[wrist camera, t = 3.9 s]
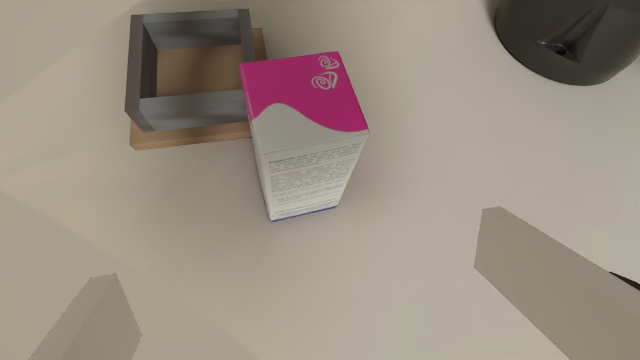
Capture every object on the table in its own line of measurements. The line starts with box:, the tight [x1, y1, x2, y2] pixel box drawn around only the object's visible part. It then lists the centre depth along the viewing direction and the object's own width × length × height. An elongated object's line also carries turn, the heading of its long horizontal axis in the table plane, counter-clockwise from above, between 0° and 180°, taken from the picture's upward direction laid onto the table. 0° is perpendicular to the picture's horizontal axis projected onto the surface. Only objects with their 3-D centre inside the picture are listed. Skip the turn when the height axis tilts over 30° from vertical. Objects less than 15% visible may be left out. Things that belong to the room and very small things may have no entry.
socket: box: [125, 9, 267, 150], centre depth 27 cm, size 12×12×4 cm
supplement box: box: [239, 52, 370, 222], centre depth 20 cm, size 6×6×12 cm
